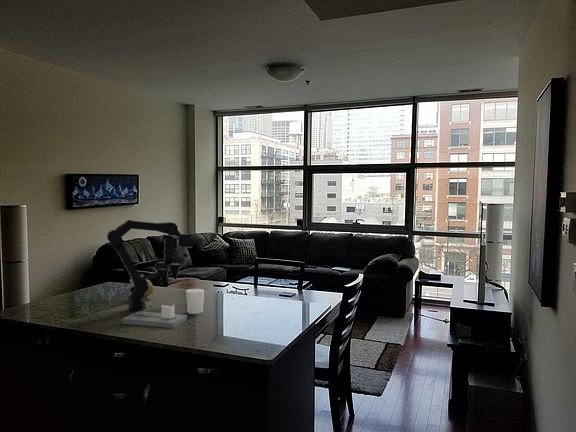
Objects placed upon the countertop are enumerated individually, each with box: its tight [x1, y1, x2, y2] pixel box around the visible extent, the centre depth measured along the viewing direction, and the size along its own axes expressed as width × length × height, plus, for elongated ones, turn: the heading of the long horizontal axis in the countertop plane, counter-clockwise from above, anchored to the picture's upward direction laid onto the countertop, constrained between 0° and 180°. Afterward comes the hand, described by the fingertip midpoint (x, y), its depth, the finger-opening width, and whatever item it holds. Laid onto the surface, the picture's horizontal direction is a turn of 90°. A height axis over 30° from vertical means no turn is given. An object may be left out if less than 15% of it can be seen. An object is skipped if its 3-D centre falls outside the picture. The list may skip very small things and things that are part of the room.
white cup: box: [185, 288, 205, 315], centre depth 197 cm, size 8×8×10 cm
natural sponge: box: [144, 278, 155, 300], centre depth 222 cm, size 9×9×10 cm
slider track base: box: [121, 310, 188, 329], centre depth 182 cm, size 23×12×2 cm, turn 76°
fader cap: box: [161, 303, 176, 319], centre depth 180 cm, size 4×4×5 cm
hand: (170, 281), depth 207 cm, fingers open, 9 cm apart
